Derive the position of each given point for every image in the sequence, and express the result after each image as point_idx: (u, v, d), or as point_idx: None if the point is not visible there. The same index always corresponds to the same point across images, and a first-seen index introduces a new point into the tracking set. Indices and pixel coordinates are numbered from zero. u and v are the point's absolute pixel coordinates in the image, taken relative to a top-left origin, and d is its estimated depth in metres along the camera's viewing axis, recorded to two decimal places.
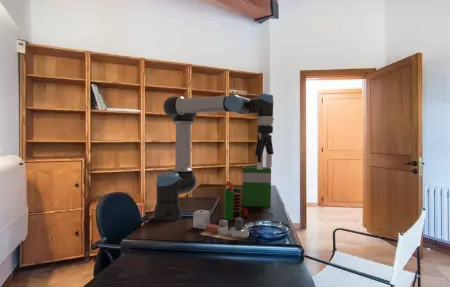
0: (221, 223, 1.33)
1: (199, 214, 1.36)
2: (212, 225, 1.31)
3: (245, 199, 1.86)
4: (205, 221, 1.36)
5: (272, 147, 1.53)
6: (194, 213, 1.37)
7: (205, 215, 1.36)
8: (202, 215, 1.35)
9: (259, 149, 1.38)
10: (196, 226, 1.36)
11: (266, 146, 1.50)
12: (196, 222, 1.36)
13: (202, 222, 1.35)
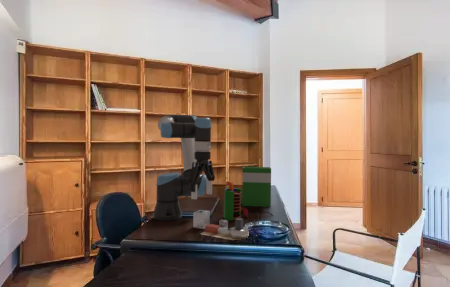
0: (221, 223, 1.33)
1: (199, 214, 1.36)
2: (212, 225, 1.31)
3: (245, 199, 1.86)
4: (205, 221, 1.36)
5: (213, 173, 1.45)
6: (194, 213, 1.37)
7: (205, 215, 1.36)
8: (202, 215, 1.35)
9: (192, 178, 1.29)
10: (196, 226, 1.36)
11: (205, 172, 1.42)
12: (196, 222, 1.36)
13: (202, 222, 1.35)
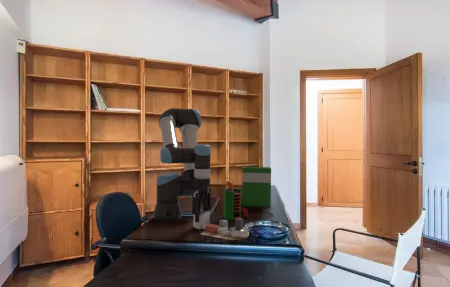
0: (221, 223, 1.33)
1: None
2: (212, 225, 1.31)
3: (245, 199, 1.86)
4: (205, 221, 1.36)
5: (210, 203, 1.43)
6: None
7: (205, 215, 1.36)
8: (202, 215, 1.35)
9: (195, 209, 1.32)
10: None
11: (203, 200, 1.40)
12: None
13: (202, 222, 1.35)
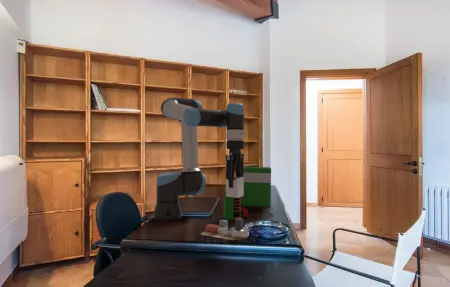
0: (221, 223, 1.33)
1: None
2: (212, 225, 1.31)
3: (245, 199, 1.86)
4: (239, 187, 1.23)
5: (243, 169, 1.31)
6: None
7: (239, 180, 1.24)
8: (236, 180, 1.23)
9: (229, 173, 1.20)
10: None
11: (236, 166, 1.28)
12: None
13: (236, 188, 1.23)
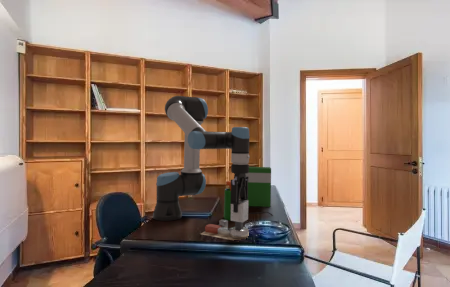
0: (221, 223, 1.33)
1: None
2: (212, 225, 1.31)
3: None
4: (244, 212, 1.22)
5: (247, 192, 1.30)
6: None
7: (244, 205, 1.23)
8: (241, 205, 1.22)
9: (234, 198, 1.19)
10: None
11: (240, 189, 1.27)
12: None
13: (241, 212, 1.22)
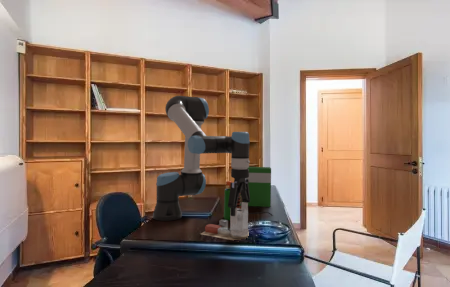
0: (221, 223, 1.33)
1: (237, 213, 1.22)
2: (212, 225, 1.31)
3: None
4: (243, 221, 1.23)
5: (249, 193, 1.32)
6: None
7: (244, 214, 1.23)
8: (241, 214, 1.22)
9: (232, 201, 1.17)
10: (234, 226, 1.23)
11: (241, 192, 1.28)
12: None
13: (241, 222, 1.22)
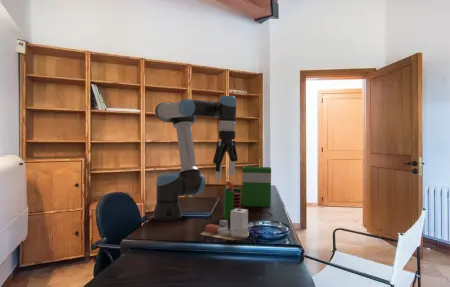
0: (221, 223, 1.33)
1: (237, 213, 1.22)
2: (212, 225, 1.31)
3: (245, 199, 1.86)
4: (243, 221, 1.23)
5: (236, 153, 1.42)
6: (231, 212, 1.24)
7: (244, 214, 1.23)
8: (241, 214, 1.22)
9: (217, 157, 1.26)
10: (234, 226, 1.23)
11: (229, 153, 1.38)
12: (234, 222, 1.23)
13: (241, 222, 1.22)
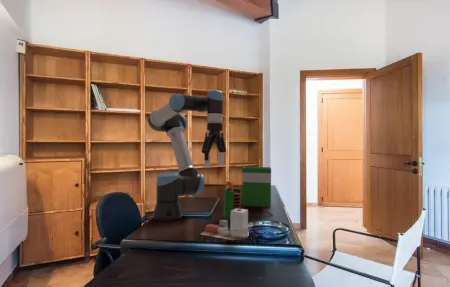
0: (221, 223, 1.33)
1: (237, 213, 1.22)
2: (212, 225, 1.31)
3: (245, 199, 1.86)
4: (243, 221, 1.23)
5: (224, 145, 1.51)
6: (231, 212, 1.24)
7: (244, 214, 1.23)
8: (241, 214, 1.22)
9: (205, 147, 1.35)
10: (234, 226, 1.23)
11: (217, 144, 1.48)
12: (234, 222, 1.23)
13: (241, 222, 1.22)
